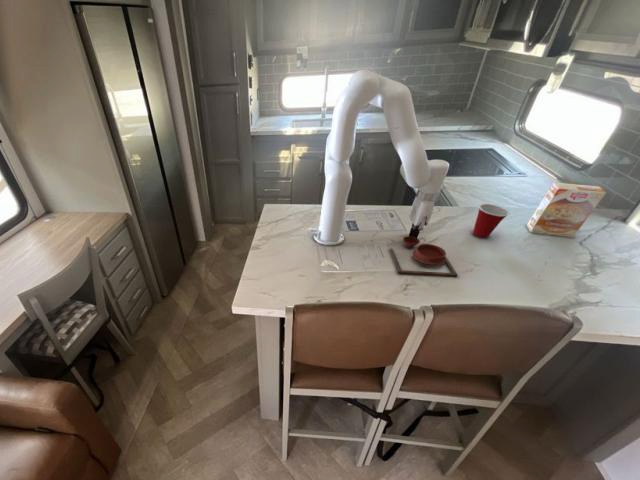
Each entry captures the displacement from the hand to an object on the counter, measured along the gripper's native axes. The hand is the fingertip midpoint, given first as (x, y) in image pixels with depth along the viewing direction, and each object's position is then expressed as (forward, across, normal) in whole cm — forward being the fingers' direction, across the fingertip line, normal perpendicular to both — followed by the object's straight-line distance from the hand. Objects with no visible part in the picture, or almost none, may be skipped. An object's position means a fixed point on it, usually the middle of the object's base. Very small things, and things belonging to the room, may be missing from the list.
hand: (412, 236), depth 133 cm
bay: (+2, +16, -1) cm, 16 cm away
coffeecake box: (+3, -12, +59) cm, 61 cm away
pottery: (+2, +11, +1) cm, 11 cm away
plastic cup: (+3, -8, +30) cm, 31 cm away
